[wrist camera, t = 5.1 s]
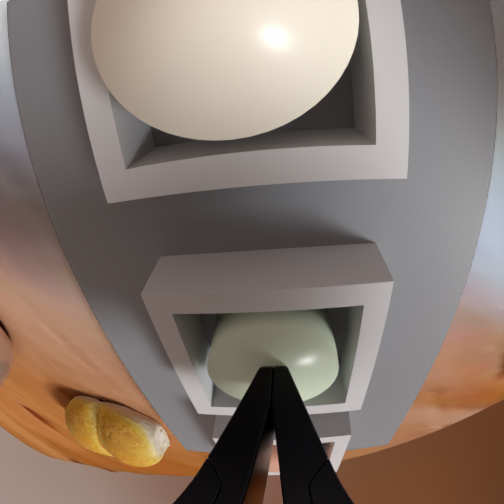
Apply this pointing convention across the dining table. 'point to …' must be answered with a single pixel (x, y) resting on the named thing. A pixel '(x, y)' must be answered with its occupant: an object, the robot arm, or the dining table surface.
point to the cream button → (222, 60)
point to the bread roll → (116, 431)
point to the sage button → (274, 349)
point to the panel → (274, 211)
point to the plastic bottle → (5, 356)
